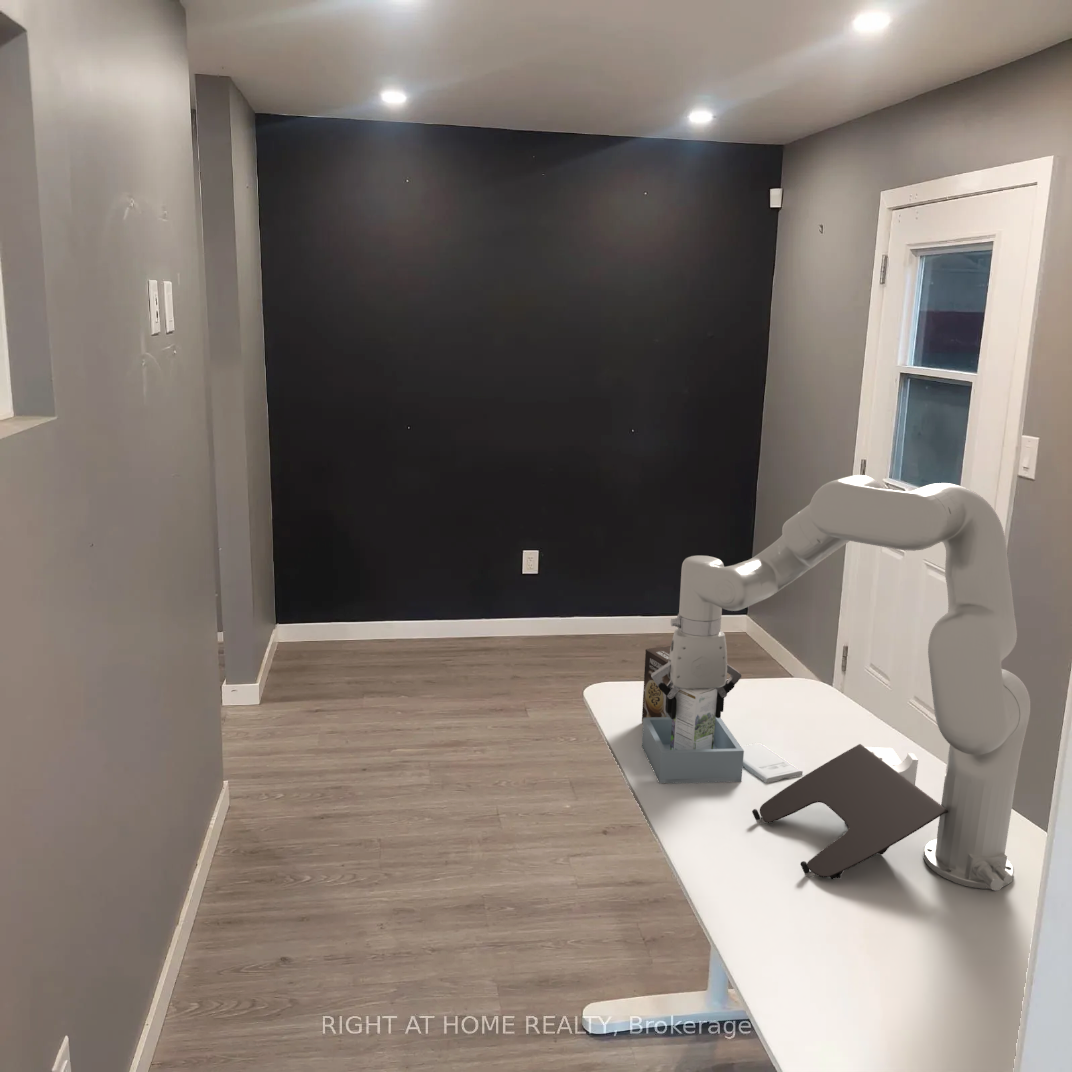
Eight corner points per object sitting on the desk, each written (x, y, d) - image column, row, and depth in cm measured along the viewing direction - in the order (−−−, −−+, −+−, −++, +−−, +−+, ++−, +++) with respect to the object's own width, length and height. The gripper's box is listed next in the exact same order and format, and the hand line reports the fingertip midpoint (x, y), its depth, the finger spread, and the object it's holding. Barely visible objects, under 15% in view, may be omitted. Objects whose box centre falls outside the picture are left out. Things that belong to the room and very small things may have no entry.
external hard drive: (760, 749, 184) (802, 778, 173) (725, 756, 181) (766, 785, 170) (760, 741, 184) (803, 769, 173) (725, 748, 180) (766, 777, 169)
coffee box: (640, 723, 193) (644, 648, 190) (666, 718, 196) (671, 644, 192) (664, 741, 185) (668, 663, 182) (691, 735, 188) (696, 659, 184)
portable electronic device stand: (760, 841, 162) (741, 800, 159) (872, 775, 164) (856, 733, 162) (833, 924, 140) (813, 878, 137) (961, 846, 143) (944, 799, 140)
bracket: (913, 799, 166) (918, 759, 164) (872, 797, 166) (876, 757, 164) (889, 765, 178) (894, 728, 177) (851, 763, 179) (856, 726, 177)
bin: (741, 781, 170) (743, 750, 168) (659, 783, 168) (661, 752, 167) (717, 744, 184) (719, 716, 183) (641, 746, 183) (643, 717, 181)
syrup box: (689, 747, 180) (693, 676, 177) (713, 759, 175) (718, 685, 172) (669, 756, 176) (672, 683, 173) (692, 767, 172) (697, 693, 169)
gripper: (656, 632, 166) (652, 725, 169) (753, 630, 167) (746, 723, 171) (647, 618, 173) (643, 708, 177) (740, 617, 175) (733, 706, 179)
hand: (693, 715), depth 174 cm, fingers closed on syrup box, 7 cm apart
